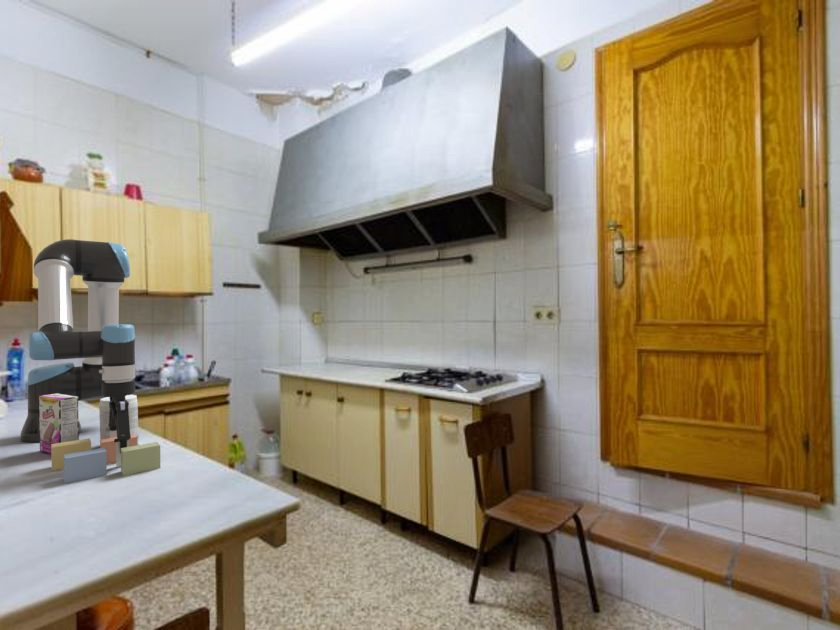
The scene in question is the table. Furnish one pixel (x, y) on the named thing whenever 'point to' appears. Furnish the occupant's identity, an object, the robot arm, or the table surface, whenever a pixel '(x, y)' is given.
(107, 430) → the supplement tub
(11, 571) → the table surface
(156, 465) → the olive brick
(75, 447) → the ochre brick
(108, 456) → the terracotta brick
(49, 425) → the candy bar box
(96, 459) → the slate-blue brick
